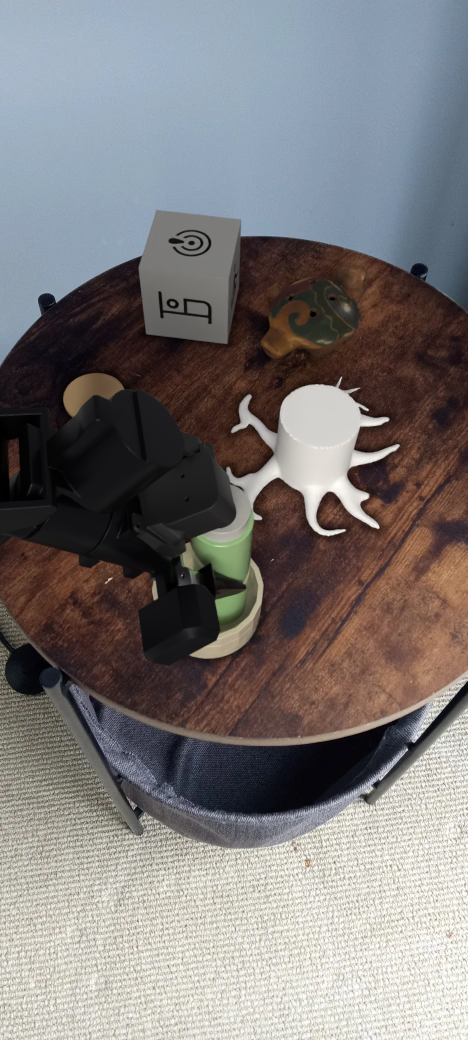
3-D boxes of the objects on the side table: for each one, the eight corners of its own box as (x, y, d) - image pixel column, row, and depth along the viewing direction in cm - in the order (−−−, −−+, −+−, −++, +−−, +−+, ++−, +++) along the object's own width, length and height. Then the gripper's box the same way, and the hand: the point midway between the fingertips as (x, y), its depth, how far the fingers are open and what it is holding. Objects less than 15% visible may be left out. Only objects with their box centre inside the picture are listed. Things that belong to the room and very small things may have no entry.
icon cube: (146, 334, 88) (138, 267, 79) (162, 277, 93) (156, 209, 84) (227, 344, 87) (228, 278, 78) (238, 286, 92) (241, 219, 83)
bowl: (167, 669, 66) (164, 651, 62) (148, 573, 71) (143, 550, 67) (271, 646, 68) (275, 626, 63) (245, 553, 73) (247, 529, 68)
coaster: (68, 428, 80) (67, 425, 80) (60, 381, 84) (59, 378, 83) (130, 417, 81) (129, 414, 81) (120, 371, 85) (119, 368, 84)
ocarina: (382, 327, 89) (396, 279, 82) (298, 397, 84) (304, 354, 77) (324, 283, 92) (332, 234, 85) (240, 350, 87) (241, 304, 80)
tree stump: (423, 429, 81) (443, 381, 74) (361, 567, 72) (377, 527, 65) (263, 367, 85) (267, 316, 78) (185, 490, 76) (182, 445, 69)
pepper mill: (200, 629, 67) (196, 542, 52) (189, 582, 69) (182, 486, 55) (252, 618, 68) (262, 529, 53) (239, 571, 70) (245, 474, 55)
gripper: (184, 586, 42) (338, 626, 53) (145, 353, 52) (283, 427, 62) (72, 654, 48) (231, 678, 59) (55, 434, 58) (195, 489, 68)
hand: (236, 562), depth 62 cm, fingers closed on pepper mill, 5 cm apart
